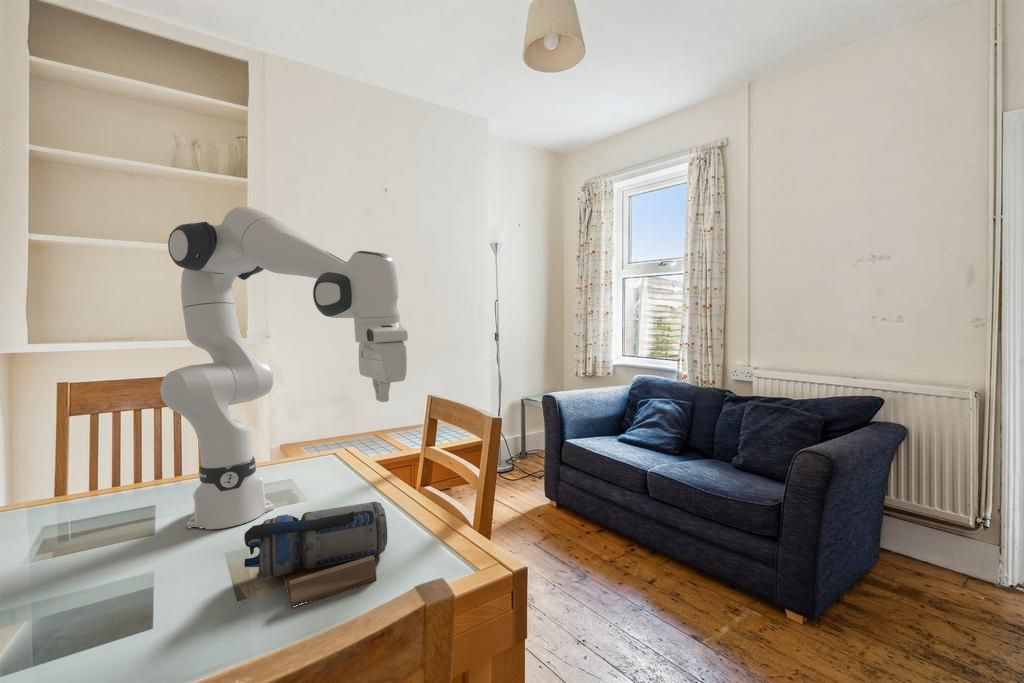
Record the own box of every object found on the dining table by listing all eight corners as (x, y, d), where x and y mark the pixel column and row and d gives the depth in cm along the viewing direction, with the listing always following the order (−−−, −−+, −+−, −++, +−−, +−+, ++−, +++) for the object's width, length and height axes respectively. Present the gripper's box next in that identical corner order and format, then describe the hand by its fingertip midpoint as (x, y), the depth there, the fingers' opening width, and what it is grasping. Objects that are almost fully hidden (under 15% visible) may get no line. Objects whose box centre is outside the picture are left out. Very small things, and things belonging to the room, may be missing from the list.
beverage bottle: (392, 532, 89) (237, 561, 78) (384, 563, 97) (244, 594, 86) (384, 484, 95) (240, 505, 85) (377, 517, 104) (246, 540, 93)
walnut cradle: (278, 562, 95) (277, 542, 95) (350, 541, 102) (349, 523, 102) (292, 608, 79) (290, 584, 79) (376, 580, 86) (375, 558, 86)
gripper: (349, 333, 103) (353, 397, 103) (377, 333, 85) (382, 410, 86) (378, 331, 106) (382, 393, 107) (411, 331, 89) (415, 405, 89)
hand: (382, 401), depth 96 cm, fingers closed
